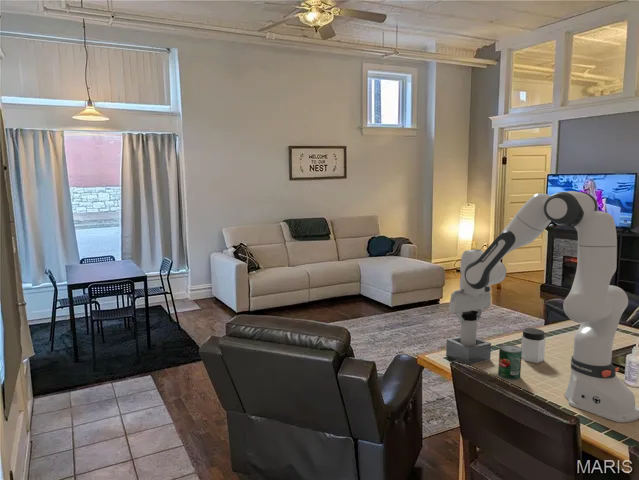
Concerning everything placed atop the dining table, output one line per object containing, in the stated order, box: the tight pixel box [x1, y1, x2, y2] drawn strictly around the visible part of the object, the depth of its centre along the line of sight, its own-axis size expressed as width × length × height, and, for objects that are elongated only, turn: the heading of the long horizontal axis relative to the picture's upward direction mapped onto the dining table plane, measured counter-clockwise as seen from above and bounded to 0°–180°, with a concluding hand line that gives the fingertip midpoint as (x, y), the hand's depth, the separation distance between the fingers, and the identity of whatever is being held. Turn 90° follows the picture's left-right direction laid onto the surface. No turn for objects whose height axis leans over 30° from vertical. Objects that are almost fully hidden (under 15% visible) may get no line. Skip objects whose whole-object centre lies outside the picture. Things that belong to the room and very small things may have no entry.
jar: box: [520, 327, 546, 364], centre depth 193 cm, size 9×8×12 cm
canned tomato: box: [497, 344, 522, 381], centre depth 177 cm, size 8×8×11 cm
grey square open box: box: [445, 335, 492, 366], centre depth 195 cm, size 12×12×7 cm
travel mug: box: [460, 310, 478, 347], centre depth 195 cm, size 6×7×20 cm
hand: (469, 320), depth 194 cm, fingers open, 8 cm apart
